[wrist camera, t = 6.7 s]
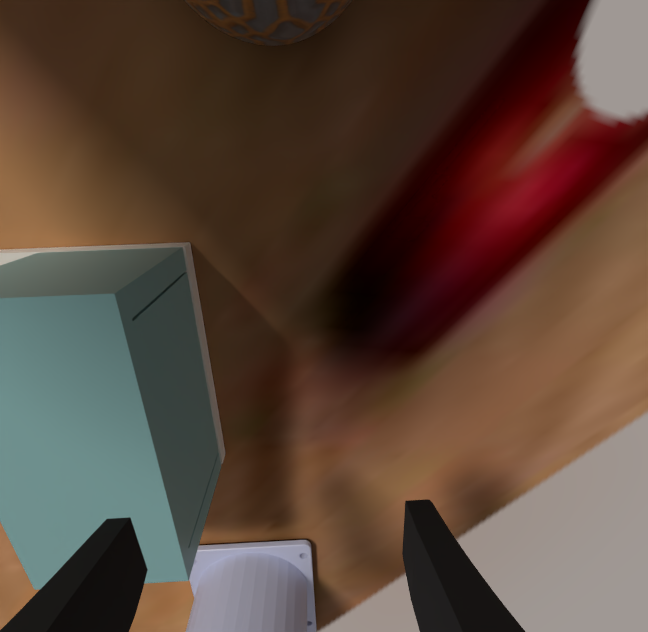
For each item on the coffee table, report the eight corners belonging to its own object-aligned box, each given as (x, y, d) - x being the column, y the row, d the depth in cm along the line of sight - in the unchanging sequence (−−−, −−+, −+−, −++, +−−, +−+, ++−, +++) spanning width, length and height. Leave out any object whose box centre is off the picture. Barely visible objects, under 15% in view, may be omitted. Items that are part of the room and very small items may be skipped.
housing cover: (221, 466, 20) (188, 580, 15) (109, 472, 20) (34, 589, 15) (182, 247, 16) (114, 293, 10) (37, 252, 16) (-110, 302, 10)
